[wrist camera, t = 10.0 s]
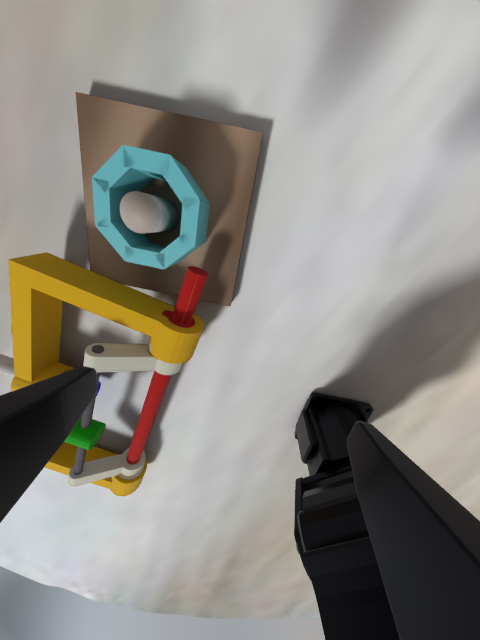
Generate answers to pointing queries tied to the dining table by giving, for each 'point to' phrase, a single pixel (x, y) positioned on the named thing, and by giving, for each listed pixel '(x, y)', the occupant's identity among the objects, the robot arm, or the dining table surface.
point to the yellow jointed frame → (98, 354)
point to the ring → (133, 175)
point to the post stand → (171, 191)
